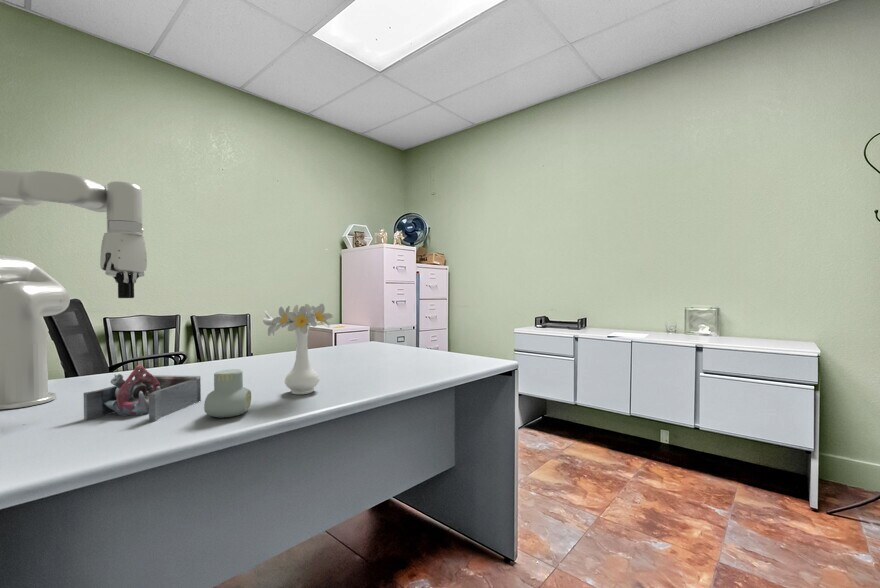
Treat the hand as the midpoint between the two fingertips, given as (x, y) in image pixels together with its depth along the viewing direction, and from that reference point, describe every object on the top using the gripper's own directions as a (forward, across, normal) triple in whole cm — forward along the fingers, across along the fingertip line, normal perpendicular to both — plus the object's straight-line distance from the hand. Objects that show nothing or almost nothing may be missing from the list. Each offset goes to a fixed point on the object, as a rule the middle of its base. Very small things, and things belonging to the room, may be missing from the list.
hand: (126, 297), depth 107 cm
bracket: (+27, +9, +14) cm, 32 cm away
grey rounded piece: (+27, +11, +36) cm, 47 cm away
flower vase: (+27, -9, +44) cm, 53 cm away
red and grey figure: (+27, +10, +12) cm, 32 cm away
